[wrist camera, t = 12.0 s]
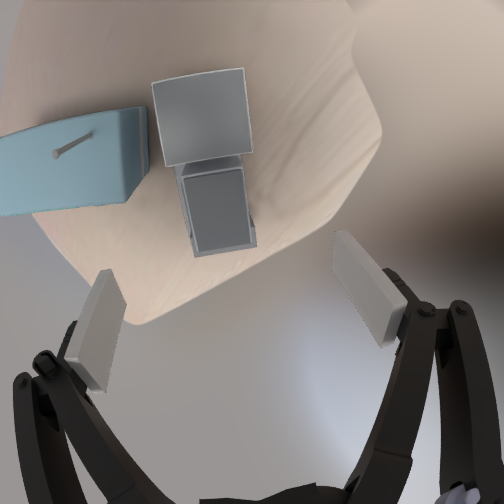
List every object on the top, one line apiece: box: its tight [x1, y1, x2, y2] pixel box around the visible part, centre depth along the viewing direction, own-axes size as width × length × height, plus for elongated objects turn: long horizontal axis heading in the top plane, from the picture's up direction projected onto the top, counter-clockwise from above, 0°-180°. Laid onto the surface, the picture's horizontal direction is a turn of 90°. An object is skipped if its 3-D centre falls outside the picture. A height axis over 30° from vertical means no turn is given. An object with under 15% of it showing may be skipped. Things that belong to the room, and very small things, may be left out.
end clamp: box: [190, 212, 257, 257], centre depth 33 cm, size 2×7×6 cm, turn 96°
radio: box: [0, 106, 149, 217], centre depth 20 cm, size 16×9×20 cm, turn 87°
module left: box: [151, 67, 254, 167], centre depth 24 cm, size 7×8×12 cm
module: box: [181, 155, 252, 252], centre depth 27 cm, size 7×5×8 cm
